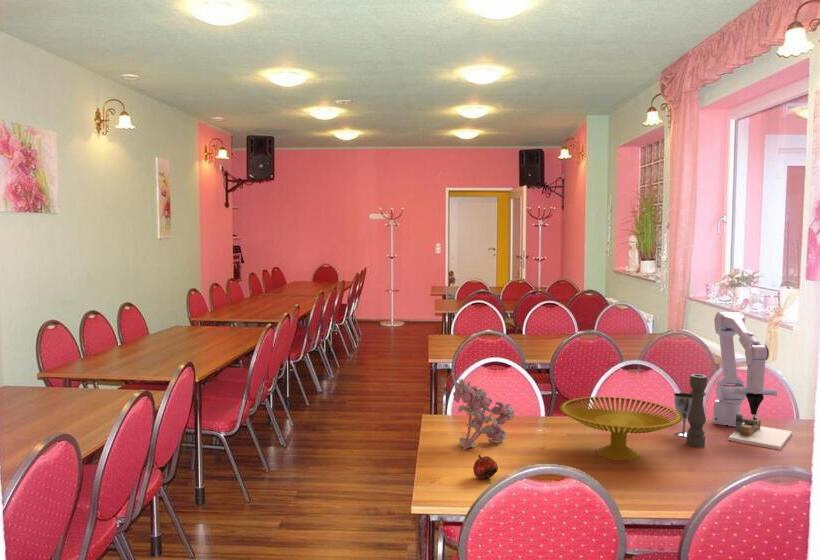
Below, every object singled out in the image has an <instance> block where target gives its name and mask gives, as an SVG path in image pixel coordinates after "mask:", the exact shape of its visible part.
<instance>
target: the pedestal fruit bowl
mask: <svg viewBox="0 0 820 560" xmlns="http://www.w3.org/2000/svg"><path fill="white" fill-rule="evenodd" d="M609 398H610V399H609ZM604 399H605V400H604ZM600 401H601V402H600ZM605 401H606V402H605ZM596 402H597V403H596ZM635 402H636V403H635ZM588 403H589V404H588ZM640 403H641V404H640ZM593 404H594V405H593ZM606 404H607V405H606ZM615 404H616V407H615ZM624 404H625V407H624ZM629 404H630V406H629ZM639 404H640V405H639ZM645 404H646V405H645ZM644 405H645V406H644ZM633 407H634V408H633ZM658 407H659V408H658ZM628 408H629V409H628ZM559 410H560V411H561V413H563V414H564V415H565V416H567V417H569V418H571V419H573V420H574V421H575V422H576V421H577V422H579V424H582V425H584V426H586V427H590V428H591V429H595V430H601V432H602V431H603V432H604V431H605V432H609V433H610V444H608V445H606V446H603V447H600V448H598V449H597V450H596V453H597V454H598V455H599V456H600V457H602V458H604V459H609V460H612V461H620V460H630V461H634V459H635V460H638V459H639V458H640V454H639V452H637V451H636V450H634V449H633V448H630V447H629V446H627V437H628V435H627V434H629V433H630V434H635V435H637V434H647V433H653V432H657V431H659V430H663V429H665V428H670V427H673V426H675V425H677V424H680V422H682V417H683V416H682V415H680V414H681V413H678V412H677V411H676V409H674V408H672V407H670V406H667V405H663V404H662V403H660V404H659V403H658V402H653V401H648V400H644V399H637V398H630V397H629V398H627V397H621V396H620V397H617V396H588V397H587V396H586V397H579V398H571V399H568V400H565V401H564V402H563V403H561V404H560V405H559ZM637 458H638V459H637Z"/></svg>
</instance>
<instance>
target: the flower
mask: <svg viewBox="0 0 820 560" xmlns="http://www.w3.org/2000/svg"><path fill="white" fill-rule="evenodd" d="M452 395H453V400H454V402H456V403H457V404H459V403H460V401H462V403H464V404H466V405H464V404H463V405H459V407H458V409H457V414H460V412H463V411H464V412H466V416H469V417H468V423H467V424H466V425H465V427H467V434H466V437H463V436H462V437H459V443H460V445H461V447H462V449H461V451H462V452H464V451H465V450H467V449H469V448H473V449H474V448H475V445H476V444H475V443H476V442H475V441H476V440H477V439H478V438H479V437H480V435H481V434H484V435H486V437H487V438H488V439H487V440H488V442H489V443H495V442H498V443H499V444H503V443H504V440H508V438H507V434H508V432H507V431H505V430H504V429H503V427H502V425H504V424H505V423H506V422H507V421H512V419H513V418H514V417H515V416H516V413H517V411H515V408H513V407H510V406H511V405H512V404H511V403H507V404H505V405H504V403H503V402H502V401H496V402H494V404H495V405H493V407H492V408H490V406H491V404H492V403H493V399H492V398H491V397H489V396H487V392H486V389H485V388H484V389H483V388H478V386H477V385H476V384H475V385H471V381H467V383H466V381H464V379H463V378H458V381H454V392H453V393H452ZM486 412H489V413H490V414H489V415H486ZM494 415H495V416H498V417H497V418H494ZM472 416H473V417H474V418H472ZM489 422H492V423H491V424H488V423H489ZM484 423H485V424H488V425H484V427H483V424H484ZM472 428H474V429H475V431H474V433H472V435H471V437H470V433H471V430H472Z"/></svg>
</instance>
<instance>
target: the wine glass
mask: <svg viewBox="0 0 820 560" xmlns="http://www.w3.org/2000/svg"><path fill="white" fill-rule="evenodd" d="M691 404H692V396H691V394H690V392H681V391H680V392H675V393H673V405H674V410H676V411H677V412H678V413H681V414H680V415H682V416H683V417H682V420H681V422H682V431H674V432H673V435H674V436H676V437H679V436H680V437H681V438H687V434H688V431H686V422H687V421H688V414H689V411H690V407H691Z"/></svg>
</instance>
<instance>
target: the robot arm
mask: <svg viewBox="0 0 820 560" xmlns="http://www.w3.org/2000/svg"><path fill="white" fill-rule="evenodd" d="M713 321H714V330H715V334H717V335H718V336H719V345H720V346H719V347H720V356H721V366H722V375H723V376H722V377H721V378H720V379H717V381H716V383H715V384H716V388H715V395H716V398H717V399H715V400H714V403H713V410H712V411H713V412H712V424H716V425H721V426H726V425H728V427H732V426H733V428H735V426H736V415H737V414H740V415H741V404H743V402H744V401H745V400H746V399H747V402H748V405H749V409H750V414H751V415H752V416H753V415H756V413H757V412H758V410H759V407H760V405H761V403H762V402H763V401H764V399H765V398H764V396H773V397H777V396H778V391H777V389H772V388H771V389H769V388H765V373H766V372H765V371H766V370H765V368H766V361H768V359H769V356H770V351H769V347H768V345H767V344H763V343H761V342H760V341H759V339H758V338H757V337H756V335H755V334H754V332H752V331H749V330H748V328H747V326H746V323H745V322H746V318H745V314H744V313H743V312H741V311H738V312H731V311H730V312H729V311H727V312H726V311H725V312H721V311H717V312H716V314H715V315H714V319H713ZM735 335H738V336H739V338H738V342H739V343H740V345H741V346H742V347H743V349H744V354H745V364H746V365H747V366H746V367H747V368H746V369H747V370H746V385H745V381H743V379H741V378H740V377H738V375H737V373H738V372H737V363H736V353H735V345H734V344H735V343H734V337H735ZM745 386H746V387H745Z"/></svg>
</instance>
